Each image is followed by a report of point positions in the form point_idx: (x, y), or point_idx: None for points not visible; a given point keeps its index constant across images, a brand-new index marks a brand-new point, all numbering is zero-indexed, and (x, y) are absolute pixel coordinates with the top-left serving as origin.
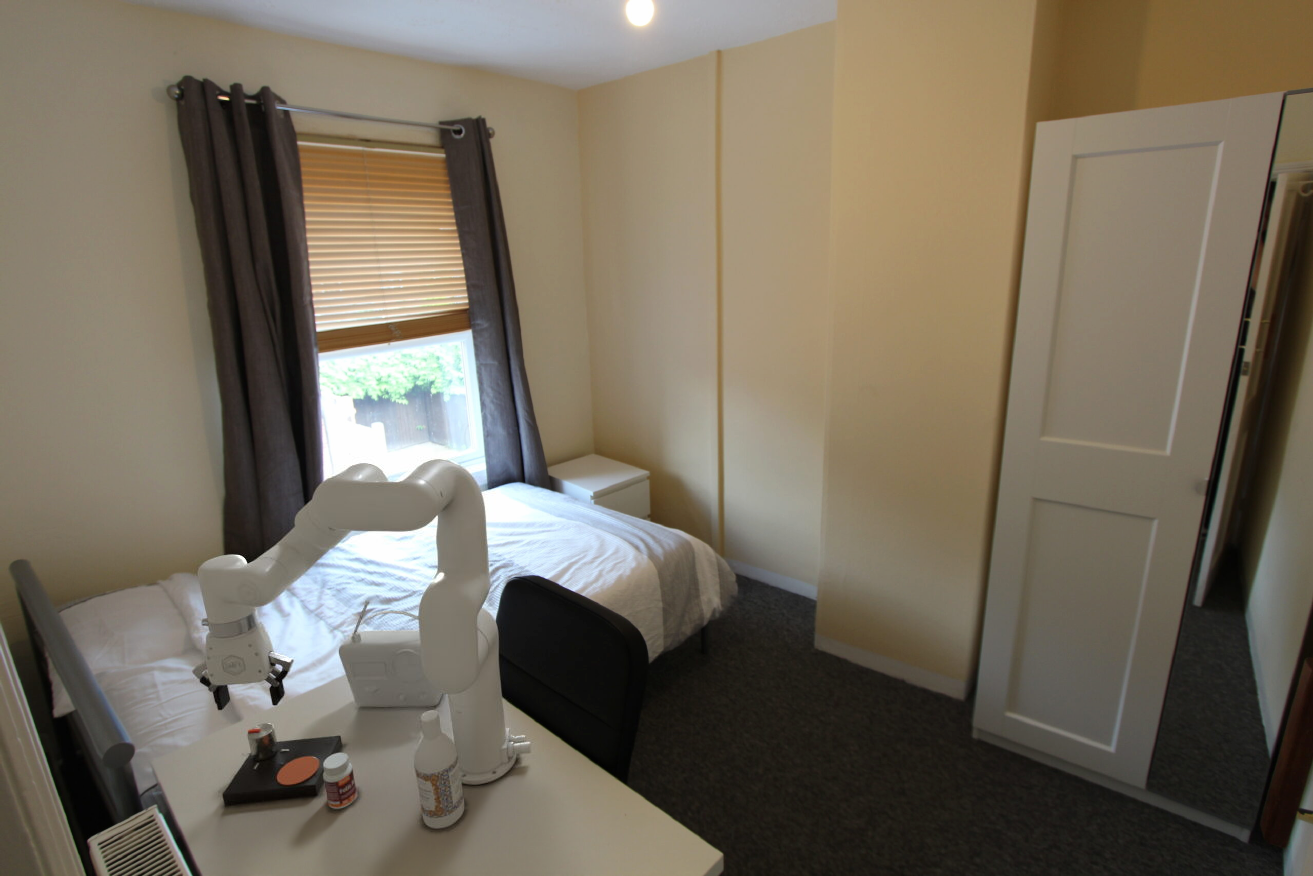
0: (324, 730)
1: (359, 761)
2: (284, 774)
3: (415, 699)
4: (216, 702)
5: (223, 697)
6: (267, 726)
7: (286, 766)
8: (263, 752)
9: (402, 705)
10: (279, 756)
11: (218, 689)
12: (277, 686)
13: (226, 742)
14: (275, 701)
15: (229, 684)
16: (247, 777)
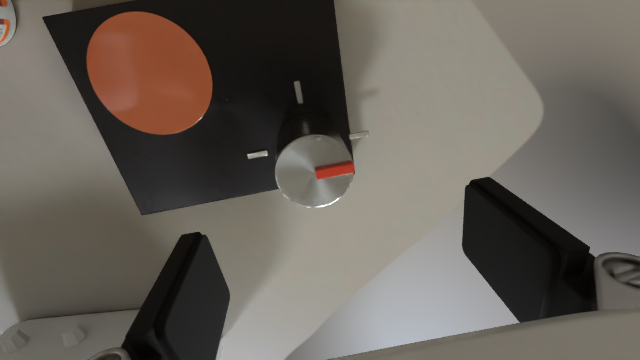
0: (240, 239)
1: (62, 153)
2: (181, 57)
3: (47, 333)
4: (521, 200)
5: (497, 242)
6: (303, 193)
7: (202, 92)
8: (291, 124)
9: (95, 315)
10: (258, 132)
11: (567, 280)
12: (128, 350)
13: (447, 191)
14: (174, 250)
15: (490, 334)
16: (295, 45)
